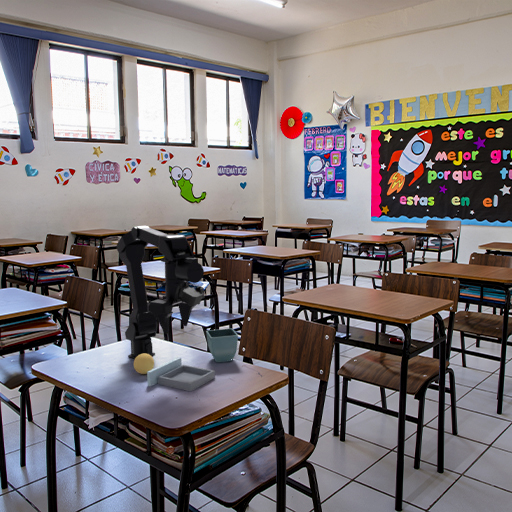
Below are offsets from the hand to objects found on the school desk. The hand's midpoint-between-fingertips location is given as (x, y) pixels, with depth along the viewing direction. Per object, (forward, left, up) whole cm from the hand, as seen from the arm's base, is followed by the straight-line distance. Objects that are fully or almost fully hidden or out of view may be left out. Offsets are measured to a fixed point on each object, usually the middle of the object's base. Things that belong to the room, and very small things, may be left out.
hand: (176, 329), depth 147 cm
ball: (-8, -6, -13) cm, 16 cm away
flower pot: (+6, +15, -13) cm, 21 cm away
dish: (+7, -5, -13) cm, 16 cm away
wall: (0, -6, -13) cm, 14 cm away
